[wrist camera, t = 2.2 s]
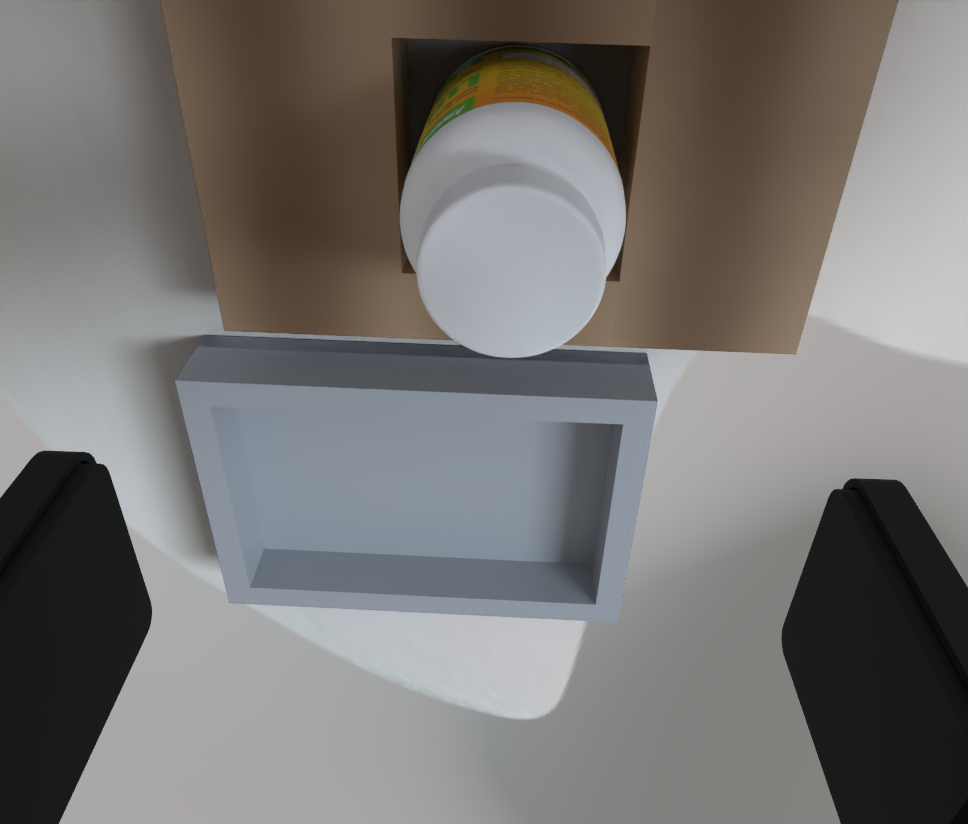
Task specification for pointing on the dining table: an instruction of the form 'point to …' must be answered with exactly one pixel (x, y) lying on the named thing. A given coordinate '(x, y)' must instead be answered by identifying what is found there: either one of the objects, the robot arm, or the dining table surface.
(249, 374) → the parts tray
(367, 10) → the socket holder
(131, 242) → the dining table surface
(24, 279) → the dining table surface
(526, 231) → the supplement bottle
